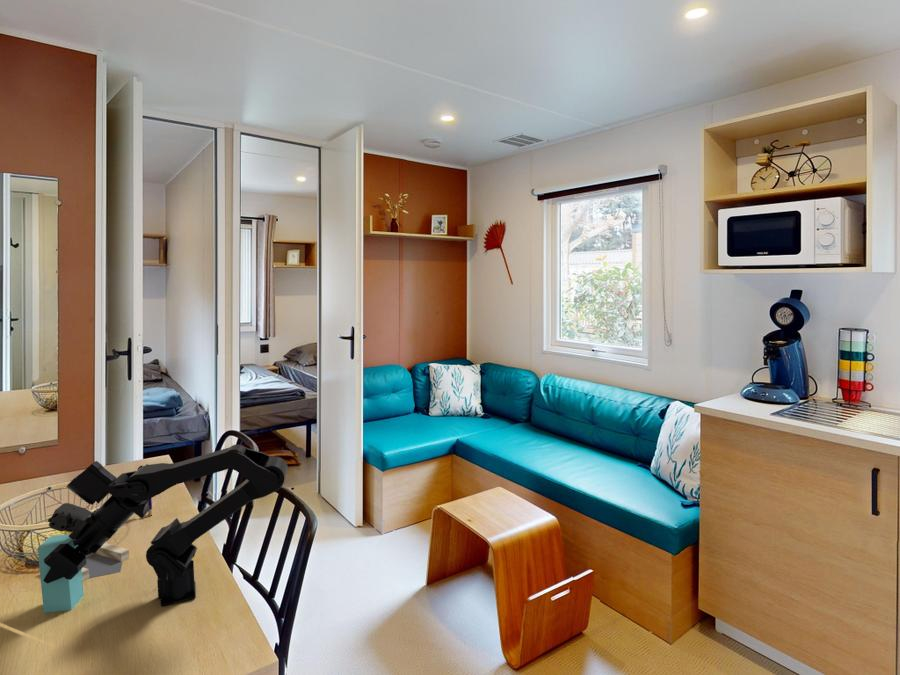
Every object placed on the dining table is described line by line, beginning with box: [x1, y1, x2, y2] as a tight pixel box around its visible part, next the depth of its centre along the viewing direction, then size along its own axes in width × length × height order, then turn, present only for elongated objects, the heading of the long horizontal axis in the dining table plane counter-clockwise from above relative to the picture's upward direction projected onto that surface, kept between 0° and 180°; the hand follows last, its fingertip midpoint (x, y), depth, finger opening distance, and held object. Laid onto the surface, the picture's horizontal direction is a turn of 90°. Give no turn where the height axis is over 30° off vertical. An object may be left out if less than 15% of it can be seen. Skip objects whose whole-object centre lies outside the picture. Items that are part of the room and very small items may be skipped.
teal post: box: [37, 533, 85, 613], centre depth 110 cm, size 5×5×14 cm
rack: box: [81, 542, 130, 582], centre depth 126 cm, size 11×12×2 cm
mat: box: [83, 554, 123, 579], centre depth 125 cm, size 12×12×1 cm
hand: (54, 573), depth 110 cm, fingers open, 6 cm apart
